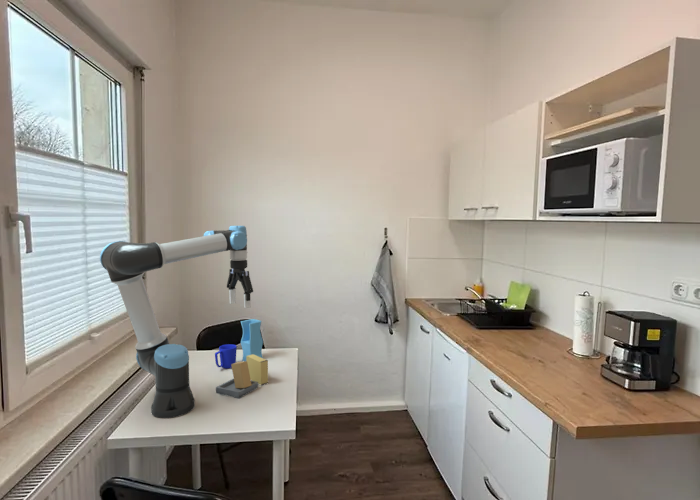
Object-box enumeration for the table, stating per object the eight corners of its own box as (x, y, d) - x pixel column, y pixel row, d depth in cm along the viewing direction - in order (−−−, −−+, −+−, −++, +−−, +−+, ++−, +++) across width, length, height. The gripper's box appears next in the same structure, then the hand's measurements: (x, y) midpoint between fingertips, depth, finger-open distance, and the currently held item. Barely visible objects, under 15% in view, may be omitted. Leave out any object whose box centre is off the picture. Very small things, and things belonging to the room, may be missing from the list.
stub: (251, 385, 172) (247, 361, 173) (244, 388, 169) (239, 363, 170) (242, 385, 176) (238, 361, 177) (235, 388, 174) (231, 364, 175)
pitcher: (241, 360, 211) (240, 321, 210) (253, 356, 217) (253, 318, 216) (250, 363, 206) (249, 324, 205) (263, 359, 212) (262, 321, 211)
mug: (209, 370, 197) (209, 350, 196) (228, 363, 207) (227, 343, 207) (222, 373, 193) (222, 352, 192) (240, 365, 204) (240, 345, 203)
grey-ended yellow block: (268, 383, 182) (268, 360, 181) (261, 385, 179) (261, 362, 178) (253, 375, 190) (253, 353, 190) (246, 377, 188) (246, 355, 187)
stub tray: (238, 398, 166) (238, 392, 166) (216, 393, 171) (216, 387, 171) (258, 387, 177) (257, 381, 177) (236, 382, 182) (235, 377, 182)
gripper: (260, 260, 183) (261, 308, 184) (233, 257, 201) (234, 300, 202) (245, 262, 178) (246, 311, 179) (218, 258, 196) (219, 302, 197)
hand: (239, 305), depth 191 cm, fingers open, 13 cm apart
